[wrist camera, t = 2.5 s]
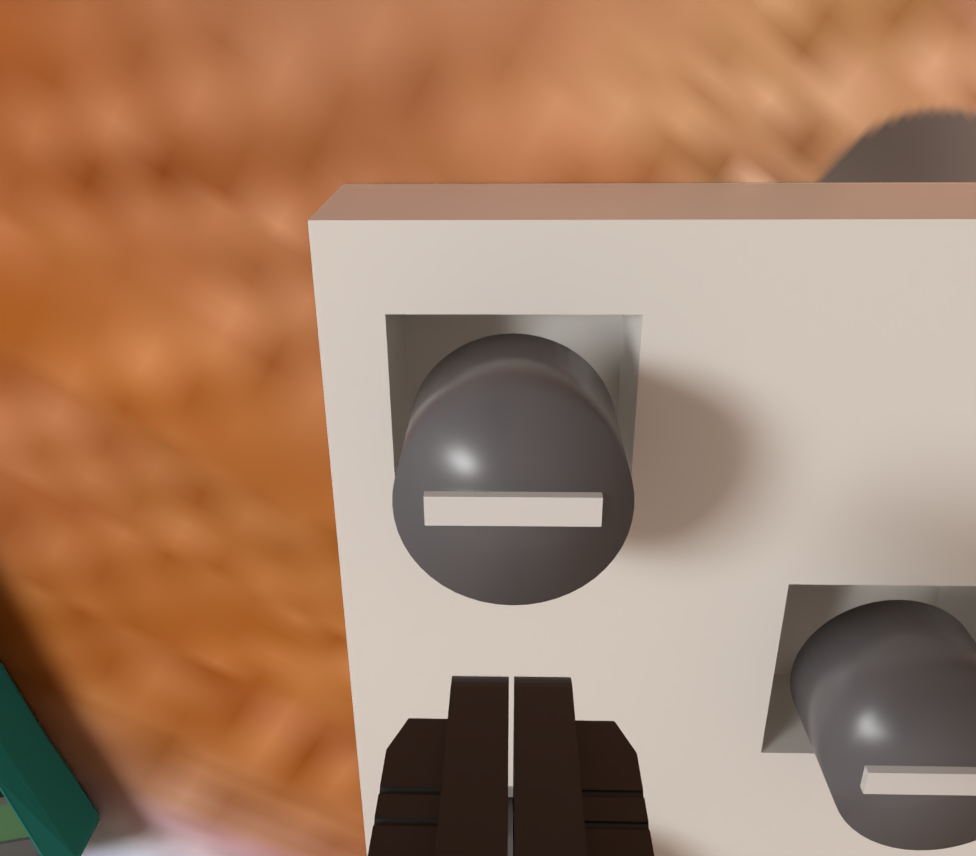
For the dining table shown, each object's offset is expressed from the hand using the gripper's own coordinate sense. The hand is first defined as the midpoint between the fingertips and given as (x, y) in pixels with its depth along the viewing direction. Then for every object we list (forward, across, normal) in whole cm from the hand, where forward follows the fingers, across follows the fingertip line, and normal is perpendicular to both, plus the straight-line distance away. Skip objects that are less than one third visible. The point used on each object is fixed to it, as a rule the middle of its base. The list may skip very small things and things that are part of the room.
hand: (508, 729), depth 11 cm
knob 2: (+9, -9, +6) cm, 14 cm away
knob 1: (+9, 0, 0) cm, 9 cm away
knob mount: (+13, -5, +6) cm, 15 cm away
